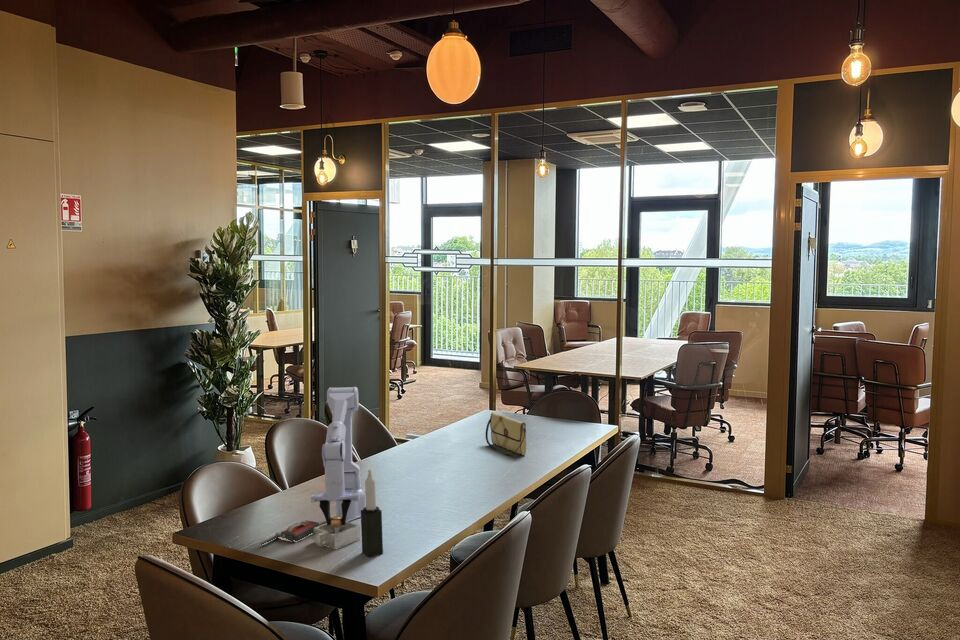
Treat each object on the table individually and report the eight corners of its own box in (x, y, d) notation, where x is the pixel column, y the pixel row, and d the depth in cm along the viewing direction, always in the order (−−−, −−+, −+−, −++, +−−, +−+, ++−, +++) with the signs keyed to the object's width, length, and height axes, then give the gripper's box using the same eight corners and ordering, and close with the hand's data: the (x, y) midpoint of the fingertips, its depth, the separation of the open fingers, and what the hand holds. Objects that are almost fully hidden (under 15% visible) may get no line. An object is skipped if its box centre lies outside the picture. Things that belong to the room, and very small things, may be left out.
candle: (368, 557, 213) (365, 473, 211) (360, 552, 217) (357, 469, 216) (384, 553, 216) (381, 469, 214) (376, 548, 220) (373, 466, 219)
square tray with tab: (339, 532, 234) (338, 518, 234) (360, 539, 228) (359, 525, 227) (308, 544, 225) (307, 529, 224) (329, 551, 218) (329, 537, 218)
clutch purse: (481, 445, 343) (481, 413, 342) (494, 443, 346) (494, 411, 345) (515, 459, 317) (515, 424, 316) (529, 456, 321) (528, 422, 319)
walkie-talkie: (301, 527, 241) (257, 549, 223) (300, 513, 241) (257, 534, 223) (322, 530, 237) (280, 553, 219) (322, 517, 237) (279, 538, 219)
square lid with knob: (338, 533, 232) (337, 512, 232) (355, 538, 228) (354, 517, 227) (318, 540, 226) (318, 519, 226) (335, 546, 222) (334, 524, 221)
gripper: (308, 485, 221) (310, 529, 222) (356, 483, 222) (358, 527, 223) (312, 478, 228) (314, 521, 229) (359, 477, 229) (361, 519, 230)
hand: (336, 524), depth 227 cm, fingers closed on square lid with knob, 4 cm apart
